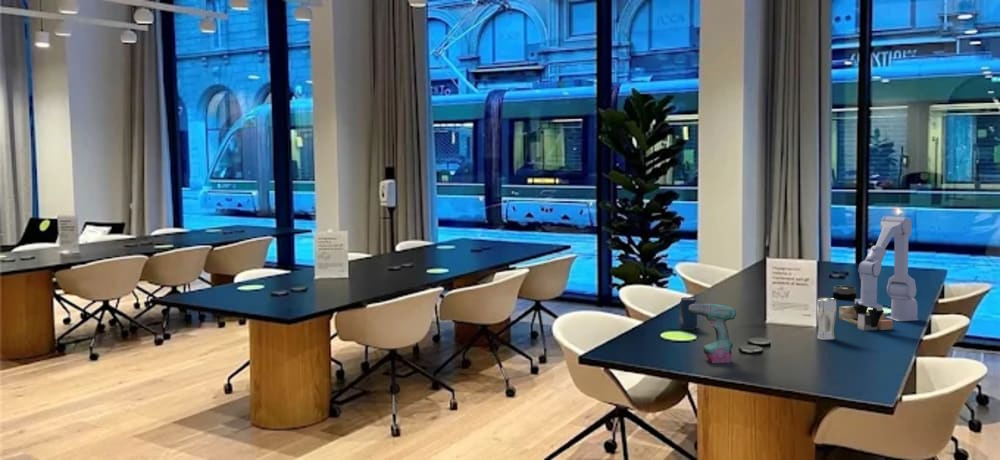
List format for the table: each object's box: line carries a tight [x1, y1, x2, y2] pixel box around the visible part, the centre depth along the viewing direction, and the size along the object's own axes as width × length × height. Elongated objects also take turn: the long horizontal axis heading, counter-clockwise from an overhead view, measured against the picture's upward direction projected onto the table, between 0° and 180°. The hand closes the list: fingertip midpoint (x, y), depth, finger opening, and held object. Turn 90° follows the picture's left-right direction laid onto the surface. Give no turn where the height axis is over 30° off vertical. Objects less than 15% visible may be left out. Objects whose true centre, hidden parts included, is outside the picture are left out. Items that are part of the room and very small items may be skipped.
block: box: [857, 312, 879, 331], centre depth 315 cm, size 6×4×6 cm, turn 101°
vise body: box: [838, 305, 858, 326], centre depth 328 cm, size 10×15×5 cm
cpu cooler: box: [832, 284, 857, 301], centre depth 377 cm, size 10×6×10 cm
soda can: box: [679, 296, 698, 330], centre depth 322 cm, size 7×7×12 cm
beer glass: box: [816, 297, 838, 341], centre depth 301 cm, size 7×7×15 cm
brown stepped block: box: [878, 312, 894, 331], centre depth 317 cm, size 7×8×5 cm
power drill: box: [689, 303, 737, 364], centre depth 273 cm, size 7×16×20 cm, turn 95°
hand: (867, 325), depth 315 cm, fingers open, 7 cm apart
